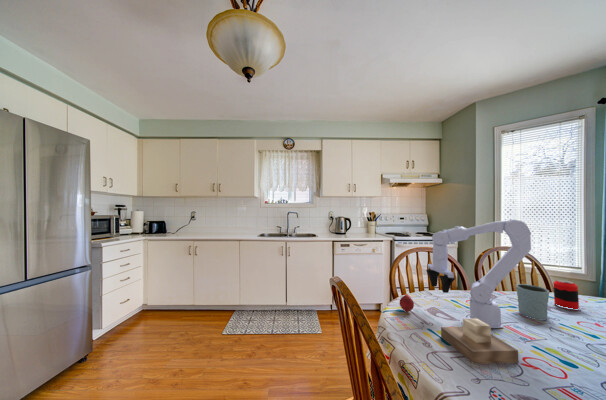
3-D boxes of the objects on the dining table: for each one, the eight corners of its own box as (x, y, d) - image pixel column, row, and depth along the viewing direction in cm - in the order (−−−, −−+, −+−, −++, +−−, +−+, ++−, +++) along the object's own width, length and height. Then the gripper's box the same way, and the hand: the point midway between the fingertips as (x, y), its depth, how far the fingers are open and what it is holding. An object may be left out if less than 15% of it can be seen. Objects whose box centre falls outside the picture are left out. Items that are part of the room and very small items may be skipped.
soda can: (558, 308, 105) (557, 282, 105) (551, 302, 111) (550, 278, 112) (582, 312, 101) (581, 285, 101) (574, 306, 107) (572, 280, 108)
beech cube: (477, 333, 75) (476, 318, 75) (491, 342, 70) (490, 325, 70) (463, 334, 75) (463, 318, 75) (476, 342, 70) (475, 326, 70)
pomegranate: (415, 315, 95) (415, 296, 96) (401, 314, 97) (401, 295, 97) (411, 310, 101) (411, 292, 102) (398, 308, 102) (398, 291, 103)
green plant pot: (523, 309, 103) (522, 282, 104) (555, 318, 94) (553, 289, 95) (512, 313, 99) (511, 285, 100) (544, 323, 90) (543, 293, 91)
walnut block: (478, 337, 80) (478, 326, 80) (518, 364, 66) (518, 350, 66) (441, 338, 79) (441, 327, 79) (473, 365, 65) (473, 351, 65)
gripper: (421, 254, 106) (421, 283, 106) (442, 262, 92) (441, 295, 91) (436, 255, 107) (435, 283, 106) (458, 262, 92) (458, 295, 92)
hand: (439, 289), depth 99 cm, fingers open, 7 cm apart
